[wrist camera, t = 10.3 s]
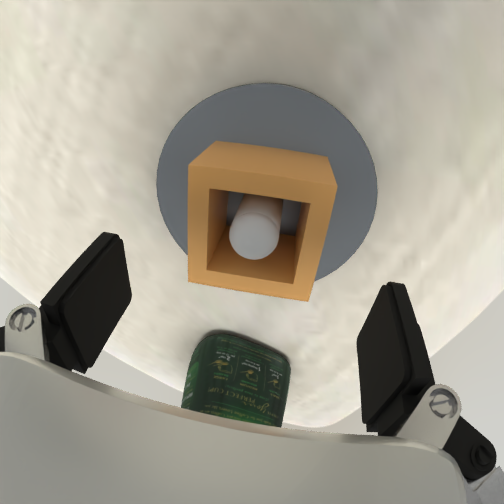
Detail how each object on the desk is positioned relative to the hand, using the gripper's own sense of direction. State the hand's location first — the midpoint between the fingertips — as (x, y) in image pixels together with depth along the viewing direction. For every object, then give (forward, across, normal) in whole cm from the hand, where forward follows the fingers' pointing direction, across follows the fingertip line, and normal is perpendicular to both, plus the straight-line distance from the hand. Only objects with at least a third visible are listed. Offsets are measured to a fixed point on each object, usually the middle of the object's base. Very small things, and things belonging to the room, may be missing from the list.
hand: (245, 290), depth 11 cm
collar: (+9, 0, +1) cm, 9 cm away
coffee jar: (+11, 0, +19) cm, 22 cm away
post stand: (+11, 0, +1) cm, 11 cm away
